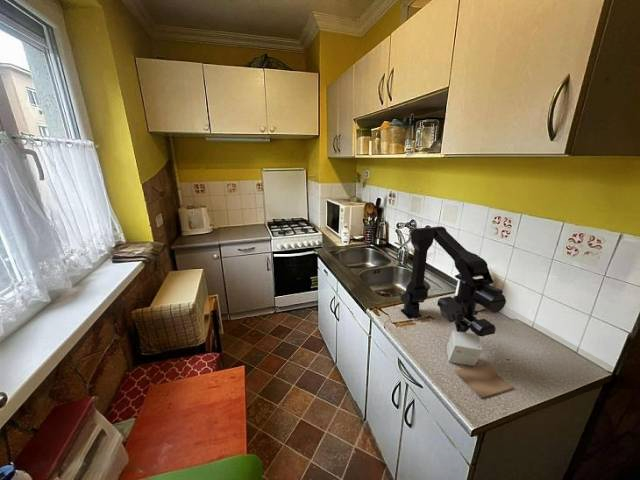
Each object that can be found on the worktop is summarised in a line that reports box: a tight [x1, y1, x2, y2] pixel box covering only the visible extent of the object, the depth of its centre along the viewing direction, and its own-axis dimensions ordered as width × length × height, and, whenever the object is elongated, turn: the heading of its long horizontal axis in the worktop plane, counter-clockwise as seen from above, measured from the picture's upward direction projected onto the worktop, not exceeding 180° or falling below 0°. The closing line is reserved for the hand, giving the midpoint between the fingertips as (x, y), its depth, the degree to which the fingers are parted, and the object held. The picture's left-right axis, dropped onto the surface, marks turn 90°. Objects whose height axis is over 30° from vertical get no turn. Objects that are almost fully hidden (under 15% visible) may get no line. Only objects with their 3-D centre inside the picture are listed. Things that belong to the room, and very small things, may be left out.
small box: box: [446, 330, 483, 367], centre depth 85 cm, size 8×6×10 cm
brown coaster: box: [454, 362, 514, 400], centre depth 80 cm, size 10×12×1 cm
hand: (459, 336), depth 88 cm, fingers closed
